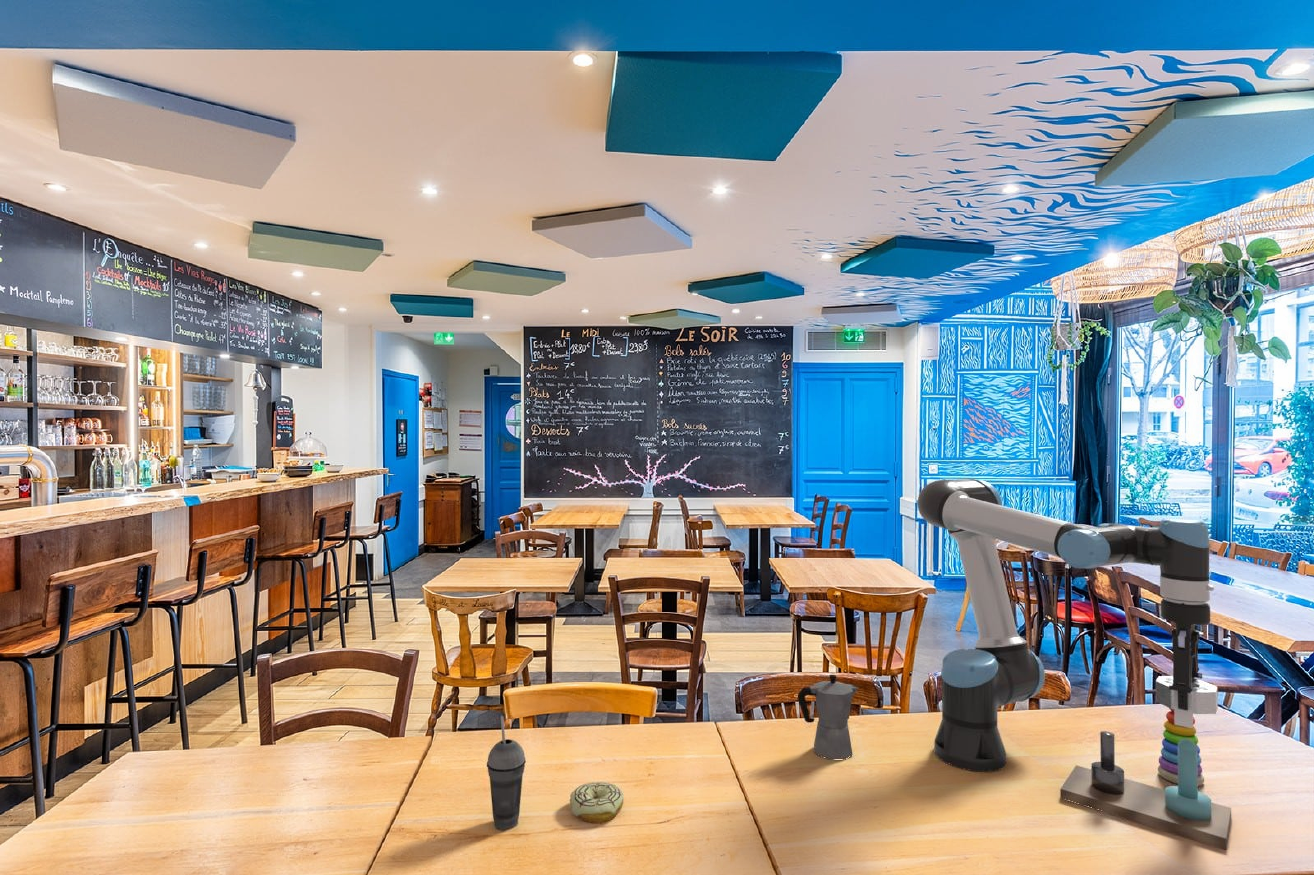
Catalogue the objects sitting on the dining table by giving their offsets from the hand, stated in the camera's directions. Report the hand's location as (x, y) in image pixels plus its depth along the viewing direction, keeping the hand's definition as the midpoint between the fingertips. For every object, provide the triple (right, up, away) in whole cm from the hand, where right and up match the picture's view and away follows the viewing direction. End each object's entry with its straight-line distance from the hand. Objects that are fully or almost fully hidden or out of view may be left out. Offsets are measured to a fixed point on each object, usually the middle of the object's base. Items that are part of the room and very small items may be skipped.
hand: (1186, 718), depth 131 cm
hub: (0, -18, 0) cm, 18 cm away
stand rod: (-9, -18, +9) cm, 22 cm away
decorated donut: (-113, -20, +4) cm, 115 cm away
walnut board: (-5, -20, +5) cm, 21 cm away
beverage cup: (-130, -20, -1) cm, 132 cm away
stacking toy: (+11, -20, +16) cm, 28 cm away
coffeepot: (-61, -20, +29) cm, 71 cm away
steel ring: (0, +3, 0) cm, 3 cm away
